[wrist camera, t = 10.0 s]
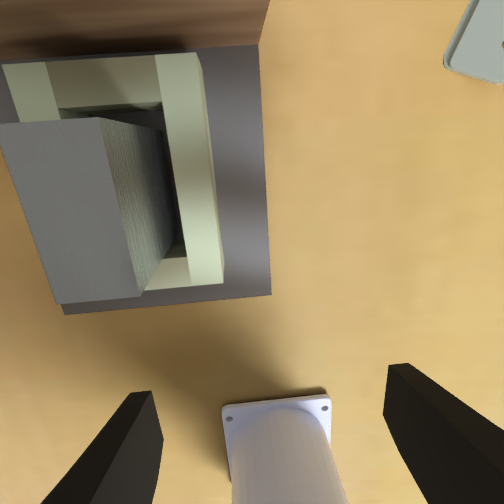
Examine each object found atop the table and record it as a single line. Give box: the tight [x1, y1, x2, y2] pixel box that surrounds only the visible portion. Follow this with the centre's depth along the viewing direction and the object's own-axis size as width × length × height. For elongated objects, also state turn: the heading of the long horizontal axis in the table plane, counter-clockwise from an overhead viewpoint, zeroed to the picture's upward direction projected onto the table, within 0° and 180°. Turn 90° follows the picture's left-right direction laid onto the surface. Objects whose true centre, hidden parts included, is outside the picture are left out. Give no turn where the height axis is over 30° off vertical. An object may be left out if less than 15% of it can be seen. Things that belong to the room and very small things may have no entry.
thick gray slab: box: [0, 117, 179, 304], centre depth 11 cm, size 5×2×7 cm, turn 4°
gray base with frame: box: [0, 0, 272, 315], centre depth 13 cm, size 14×12×6 cm
